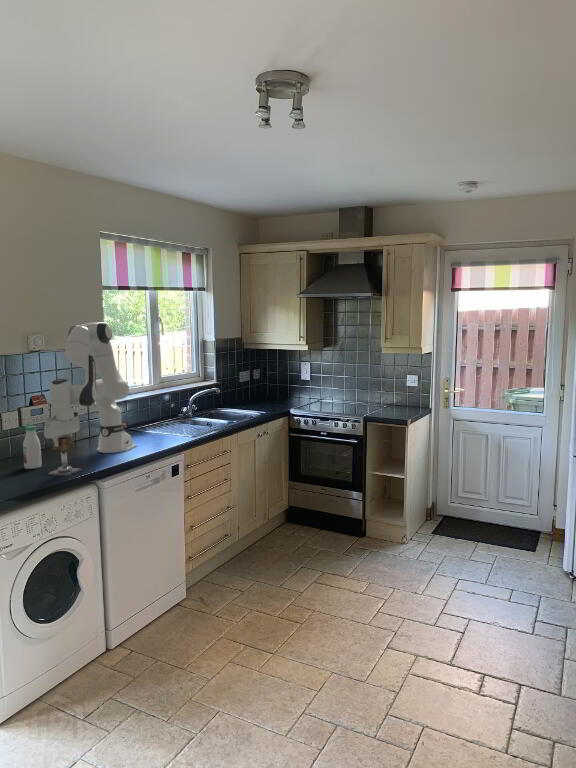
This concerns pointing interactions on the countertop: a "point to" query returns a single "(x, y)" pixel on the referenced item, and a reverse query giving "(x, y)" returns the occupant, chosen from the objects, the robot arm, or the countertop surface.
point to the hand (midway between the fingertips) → (63, 444)
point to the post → (64, 467)
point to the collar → (64, 443)
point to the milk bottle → (31, 449)
